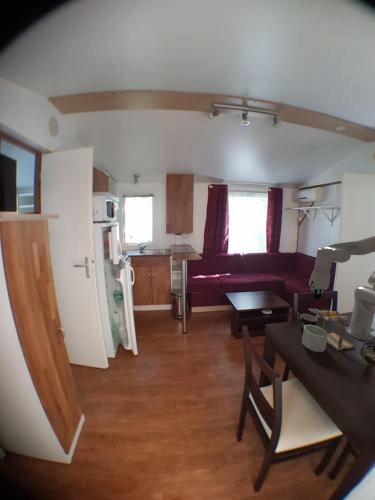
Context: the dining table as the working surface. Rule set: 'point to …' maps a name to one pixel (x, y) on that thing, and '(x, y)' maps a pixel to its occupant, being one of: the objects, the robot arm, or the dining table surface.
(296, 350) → the dining table surface
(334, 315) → the ball
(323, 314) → the tipping lever
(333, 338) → the lever stand
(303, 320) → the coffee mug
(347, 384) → the dining table surface
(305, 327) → the cup
